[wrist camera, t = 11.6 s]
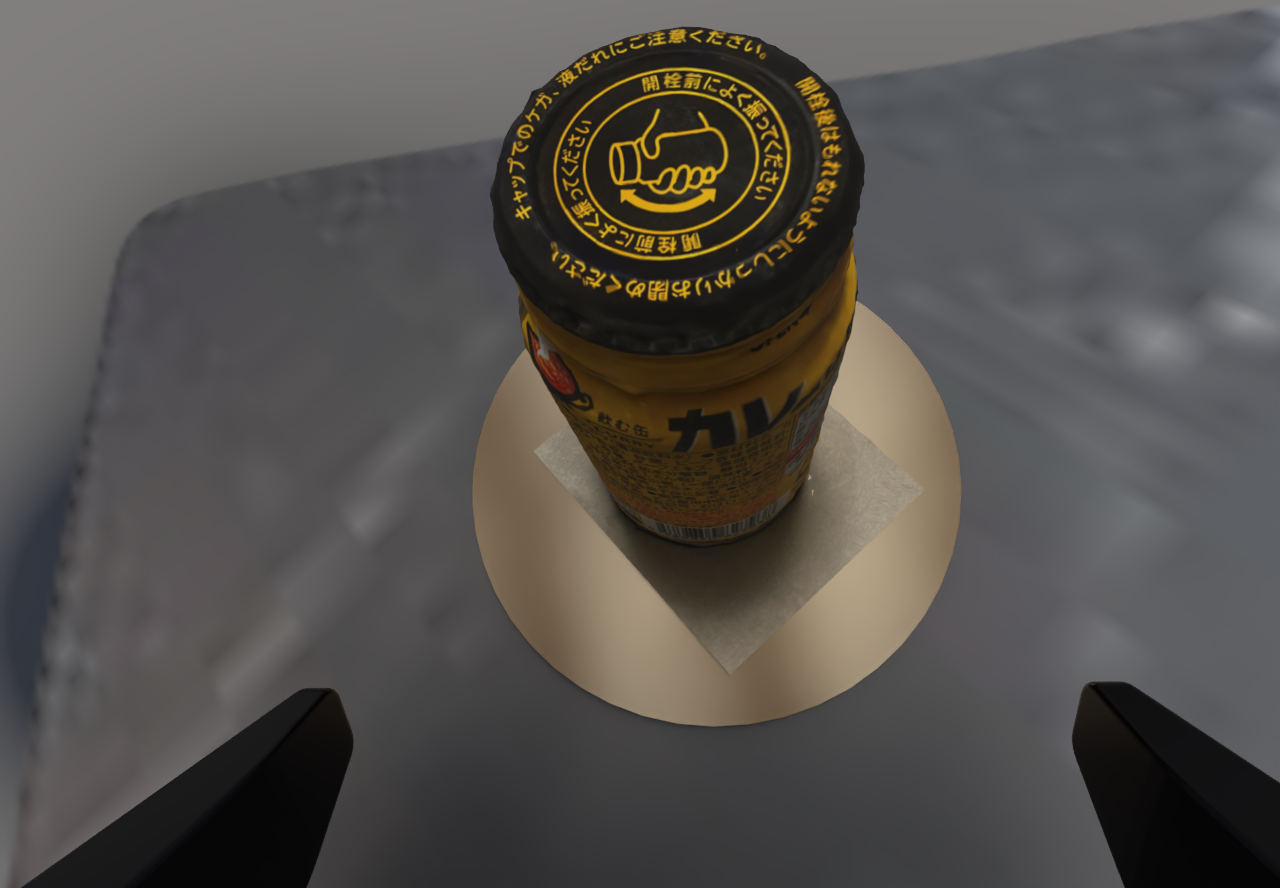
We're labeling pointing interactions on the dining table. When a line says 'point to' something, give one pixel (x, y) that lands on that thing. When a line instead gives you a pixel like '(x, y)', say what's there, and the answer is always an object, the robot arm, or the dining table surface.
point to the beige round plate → (640, 618)
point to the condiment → (698, 319)
